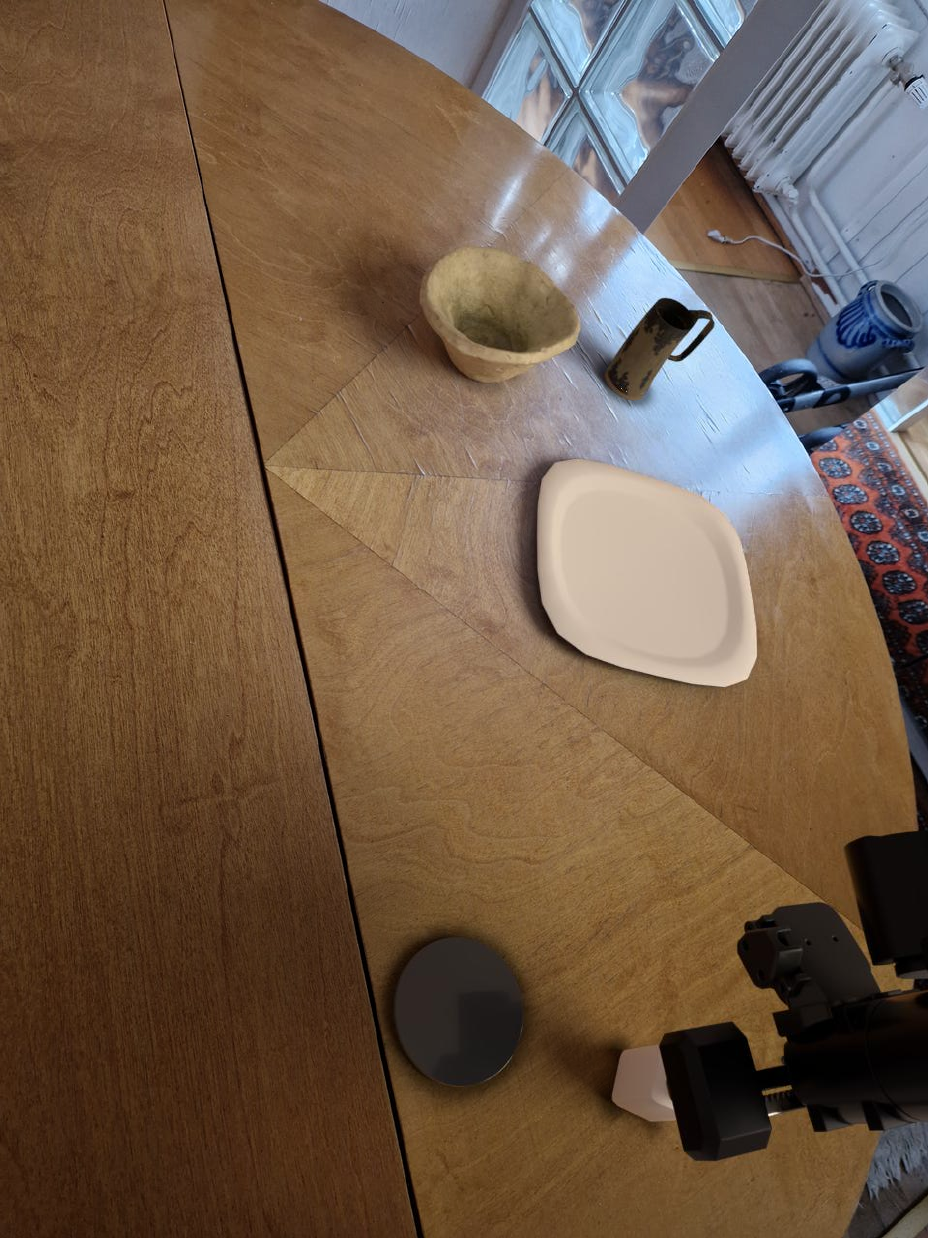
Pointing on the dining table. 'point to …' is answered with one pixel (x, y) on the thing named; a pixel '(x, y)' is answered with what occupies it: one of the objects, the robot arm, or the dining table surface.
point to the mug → (654, 346)
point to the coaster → (458, 1012)
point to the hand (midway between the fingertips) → (728, 1077)
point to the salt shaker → (643, 1084)
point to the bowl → (496, 312)
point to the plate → (644, 575)
